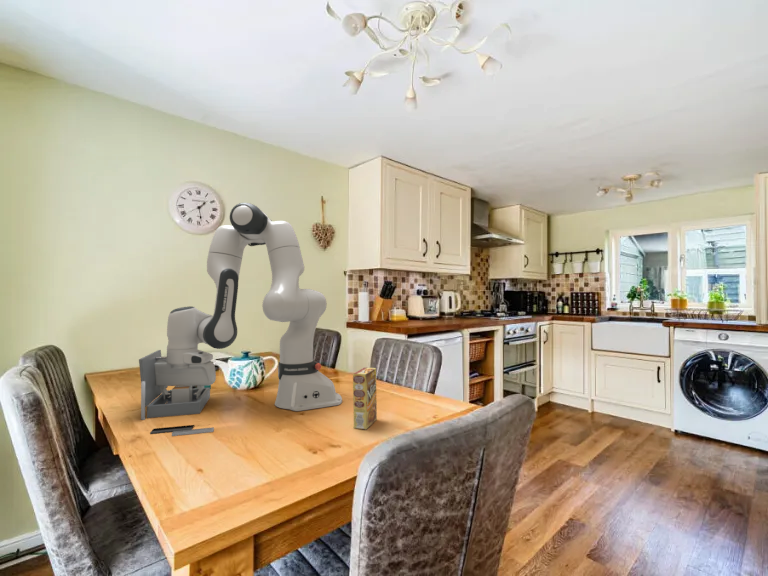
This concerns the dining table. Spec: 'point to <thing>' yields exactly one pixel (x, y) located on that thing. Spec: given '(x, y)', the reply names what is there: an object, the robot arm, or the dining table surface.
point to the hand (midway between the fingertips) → (182, 399)
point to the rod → (192, 431)
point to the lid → (149, 376)
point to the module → (182, 394)
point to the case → (173, 404)
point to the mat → (171, 429)
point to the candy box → (364, 398)
